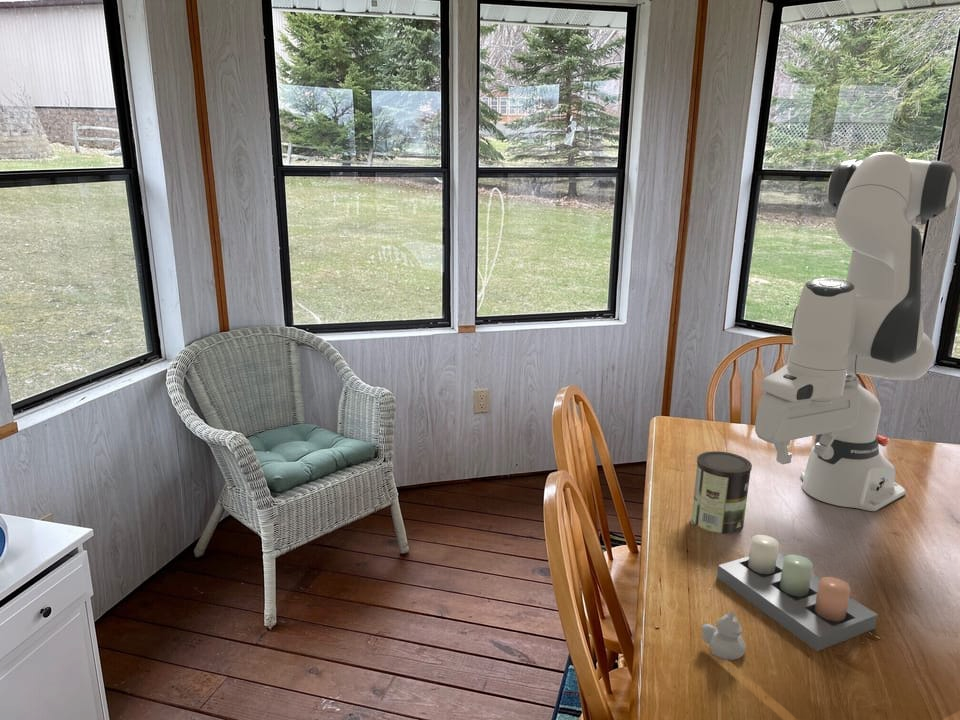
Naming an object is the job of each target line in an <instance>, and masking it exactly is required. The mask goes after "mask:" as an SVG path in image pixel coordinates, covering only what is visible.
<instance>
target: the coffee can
mask: <svg viewBox="0 0 960 720" xmlns="http://www.w3.org/2000/svg"><path fill="white" fill-rule="evenodd" d="M696 463H697V464H696V471H695V472H696V474H695V484H694V490H693V491H694V492H693V503H692V511H691V517H690V523H691V525H694V524H695V525H696V526H697V527H699V528H701V529H702V530H704V531H707V532H710V533H716V534H720V535H721V534H724V535H726V534H727V535H728V534H735V533H738V532H740V531H742V530H743V529H744V523H745V516H746V509H747V508H746V507H747V501H748V494H749V493H748V492H749V486H750V479H751V471H752V469H753V468H752V467H753V465H752V463H751V461H749V460H748V459H747V458H745V457H744V456H742V455H738V454H736V453H732V452H727V451H706V452H702V453H700V454H698V456H697V457H696Z"/></svg>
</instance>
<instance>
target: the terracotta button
mask: <svg viewBox="0 0 960 720" xmlns="http://www.w3.org/2000/svg"><path fill="white" fill-rule="evenodd" d="M850 595H851V586H850V585H849V583H848V582H846V581H845V580H843V579H841V578H837V577H834V576H824V577H823V576H822V577H821V578H820V580H819V586H818V592H817V597H816V603H815V612H816V613H817V614H818V615H819V616H820V617H822V618H824V619H827V620H830V621H842V620H844V619H845V616H846V611H847V606H848V600H849V597H850Z"/></svg>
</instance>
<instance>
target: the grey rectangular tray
mask: <svg viewBox="0 0 960 720" xmlns="http://www.w3.org/2000/svg"><path fill="white" fill-rule="evenodd" d="M785 556H786V555H783V554H782V553H780V552H779V551H778V554H777V560H776V567H775V571H774V572H773V573H771V574H761V573H757V572H755V571H753V570H752V569H750V568H749V566H748V561H749V555H748V556H745V557H741V558H738V559H735V560H732V561H727V562H725V563H721V564H718V566H717V575H716V579H718V580H719V581H720V582H722V583H723V584H725V586H727V587H728V588H730V589H732V591H733V592H735V593H737V595H739V596H741V597H742V598H744V599H745V600H746V601H748V602H749V603H750V604H751V605H752V606H754V607H755V608H757V609H758V610H760V611H761V612H762V613H764V614H765V615H766V616H768V617H769V618H770V619H772V620H773V621H774V622H776V623H777V624H779V625H780V626H782V627H783V628H785V630H787V631H788V632H790V633H791V634H793V635H794V636H795V637H796V638H798V639H799V640H800V641H802V642H803V643H804V644H806V645H807V646H809V647H810V648H812V649H813V650H814V651H815V652H819V651H821V650H824V649H826V648H829V647H832V646H834V645H836V644H837V645H838V644H839V643H842V642H844V641H846V640H849V639H852V638H854V637H857V636H860V635H862V634H865V633H867V632H870V631H872V630H875V629H876V625H877V620H878V616H879V614H877V613H876V612H875V611H873V610H871V609H870V608H868V607H867V606H865V605H863V604H862V603H860V602H858V601H857V600H855V599H854V598H852V597H851V596H849V600H848V606H847V611H846V616H845V619H844V620H842V621H830V620H827V619H824V618H822V617H820V616H819V615H818V614H817V613H816V612H815V603H816V597H817V592H818V586H819V580H820V579H821V578H820V577H818V576H817V575H816V574H814V573H812V574H811V580H810V586H809V592H808V594H807V595H806V596H802V597H798V596H792V595H789V594H787V593H785V592H784V591H783V590H782V589H781V588H780V580H781V573H782V567H783V560H784V557H785Z"/></svg>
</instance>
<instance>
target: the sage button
mask: <svg viewBox="0 0 960 720" xmlns="http://www.w3.org/2000/svg"><path fill="white" fill-rule="evenodd" d="M784 556H785V557H784V560H783V567H782V573H781V580H780V588H781V589H782V590H783V591H784V592H785V593H787V594H789V595H792V596H798V597H802V596H806V595H807V594H808V592H809V586H810V580H811V574H813V566H814V563H813V562H812V561H811V560H810V559H809V558H807V557H804V556H802V555H799V554H798V555H797V554H788V555H784Z"/></svg>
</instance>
